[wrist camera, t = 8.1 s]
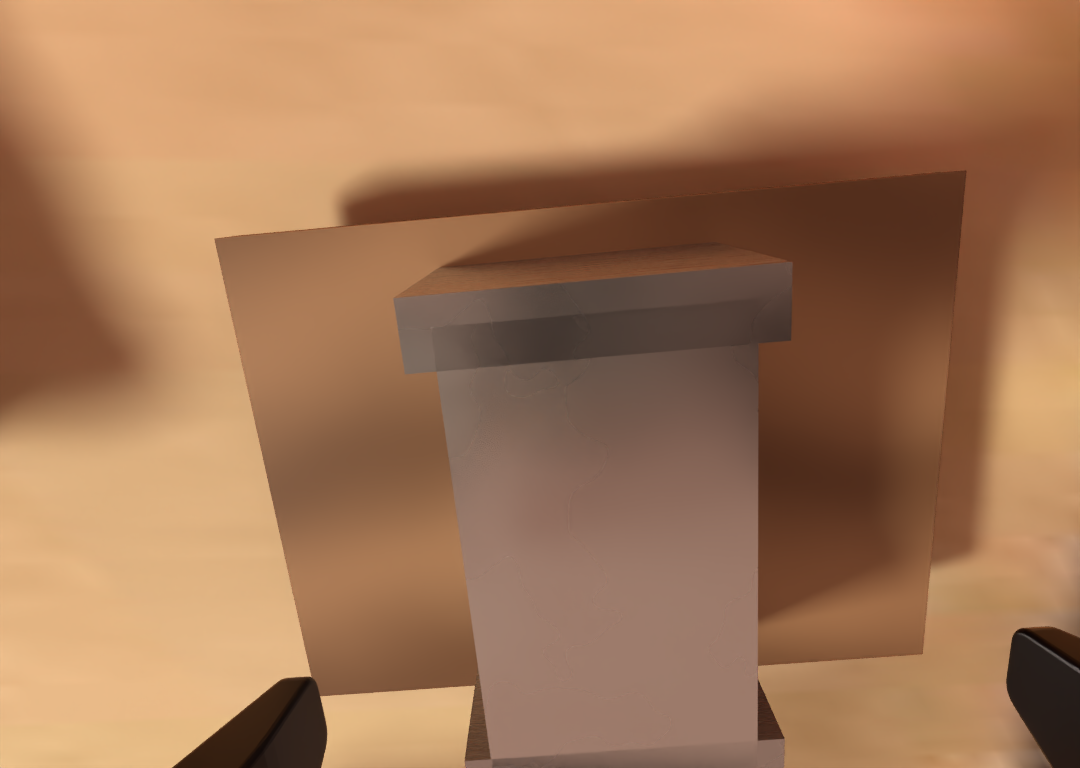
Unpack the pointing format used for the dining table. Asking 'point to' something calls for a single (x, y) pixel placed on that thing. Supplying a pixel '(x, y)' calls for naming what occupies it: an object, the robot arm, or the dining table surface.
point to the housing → (608, 498)
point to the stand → (783, 415)
